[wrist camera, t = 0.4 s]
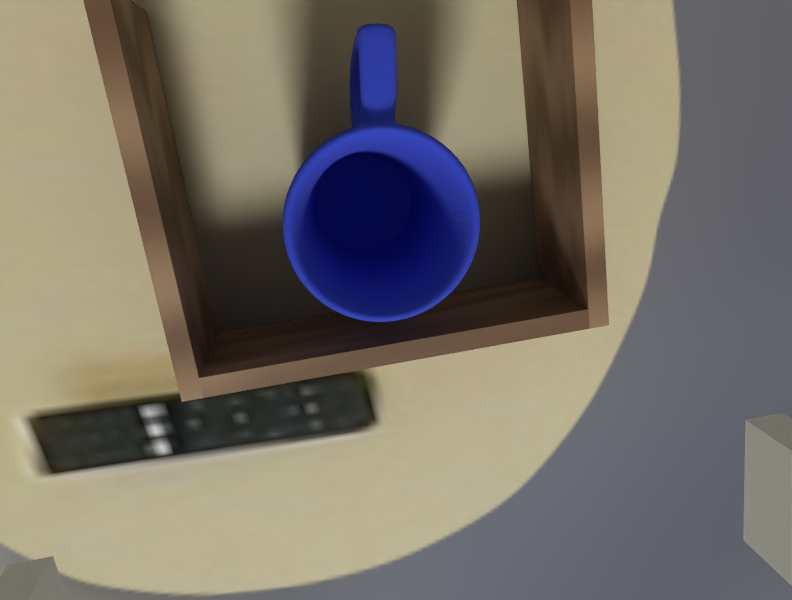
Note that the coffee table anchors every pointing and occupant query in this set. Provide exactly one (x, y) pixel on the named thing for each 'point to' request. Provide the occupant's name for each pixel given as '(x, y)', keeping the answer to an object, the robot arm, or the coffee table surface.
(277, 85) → the coffee table surface
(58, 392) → the coffee table surface
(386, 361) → the u-shaped wooden frame
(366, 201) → the mug
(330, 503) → the coffee table surface
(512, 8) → the coffee table surface
